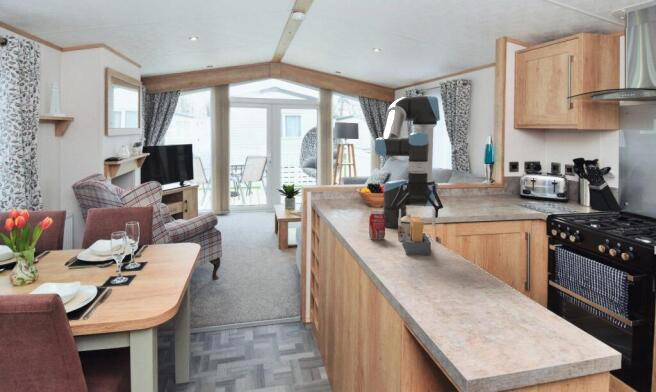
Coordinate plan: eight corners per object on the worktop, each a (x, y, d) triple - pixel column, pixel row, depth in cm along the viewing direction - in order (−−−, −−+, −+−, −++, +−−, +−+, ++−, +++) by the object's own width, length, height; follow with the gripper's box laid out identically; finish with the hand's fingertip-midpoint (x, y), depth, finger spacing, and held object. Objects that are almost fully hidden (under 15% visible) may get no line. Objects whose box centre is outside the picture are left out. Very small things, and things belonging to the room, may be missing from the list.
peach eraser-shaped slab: (412, 253, 172) (413, 222, 170) (409, 246, 184) (409, 216, 182) (422, 253, 171) (423, 222, 170) (418, 246, 183) (419, 216, 182)
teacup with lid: (394, 238, 198) (395, 212, 197) (413, 237, 200) (414, 211, 199) (404, 244, 187) (405, 217, 185) (424, 243, 188) (425, 216, 187)
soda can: (374, 236, 201) (375, 210, 200) (387, 238, 197) (388, 212, 195) (365, 239, 196) (366, 212, 194) (379, 241, 192) (379, 214, 190)
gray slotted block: (406, 255, 169) (406, 242, 169) (402, 244, 186) (402, 232, 186) (430, 255, 169) (430, 242, 168) (424, 244, 186) (424, 233, 185)
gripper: (386, 172, 171) (385, 226, 173) (451, 173, 169) (449, 227, 172) (385, 171, 178) (384, 223, 181) (448, 171, 176) (446, 224, 179)
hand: (416, 225), depth 176 cm, fingers open, 13 cm apart
